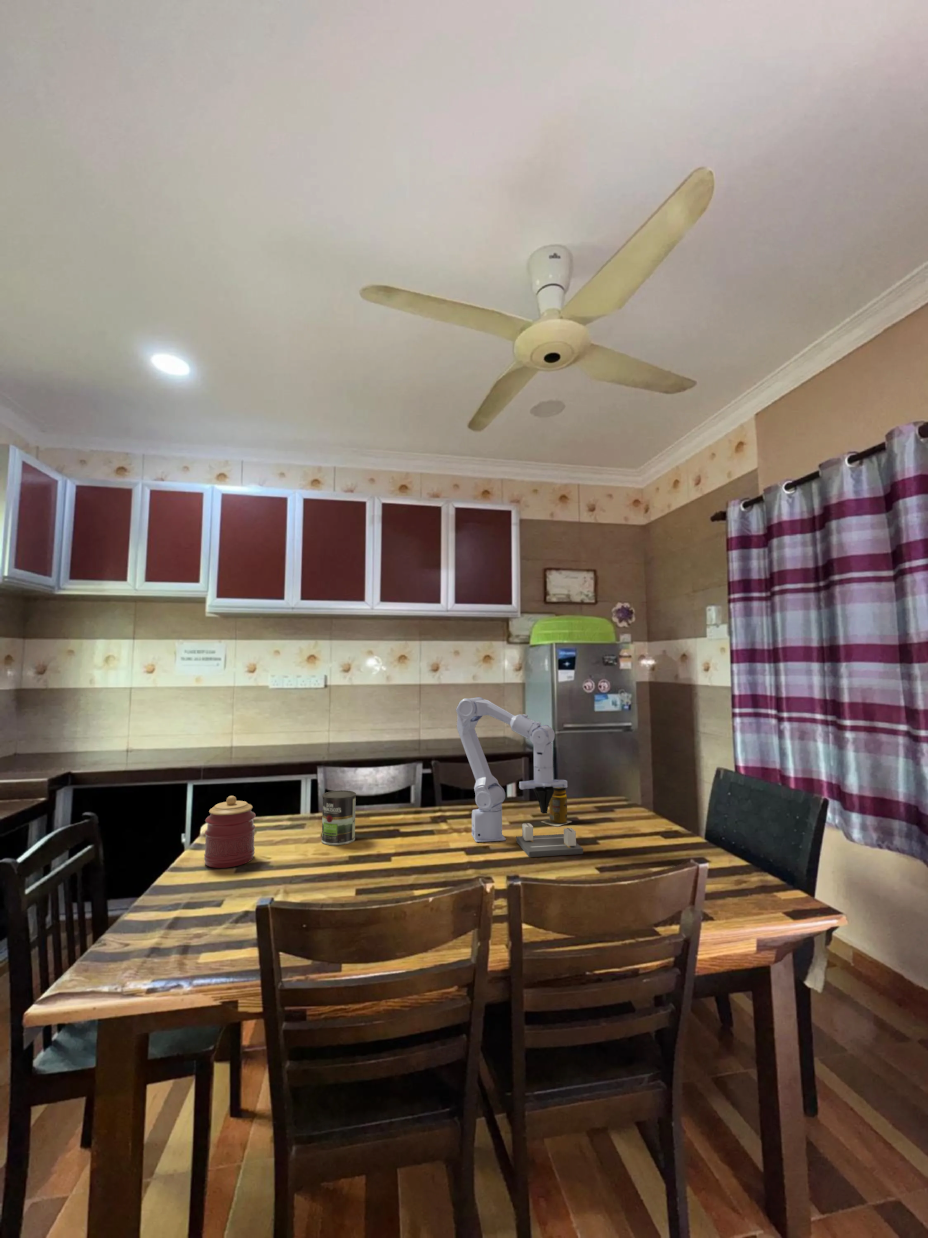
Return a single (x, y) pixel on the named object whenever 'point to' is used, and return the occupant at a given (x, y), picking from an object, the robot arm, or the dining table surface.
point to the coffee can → (338, 817)
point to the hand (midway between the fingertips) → (543, 812)
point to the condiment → (558, 808)
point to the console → (547, 846)
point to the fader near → (569, 837)
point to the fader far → (527, 831)
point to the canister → (229, 834)
